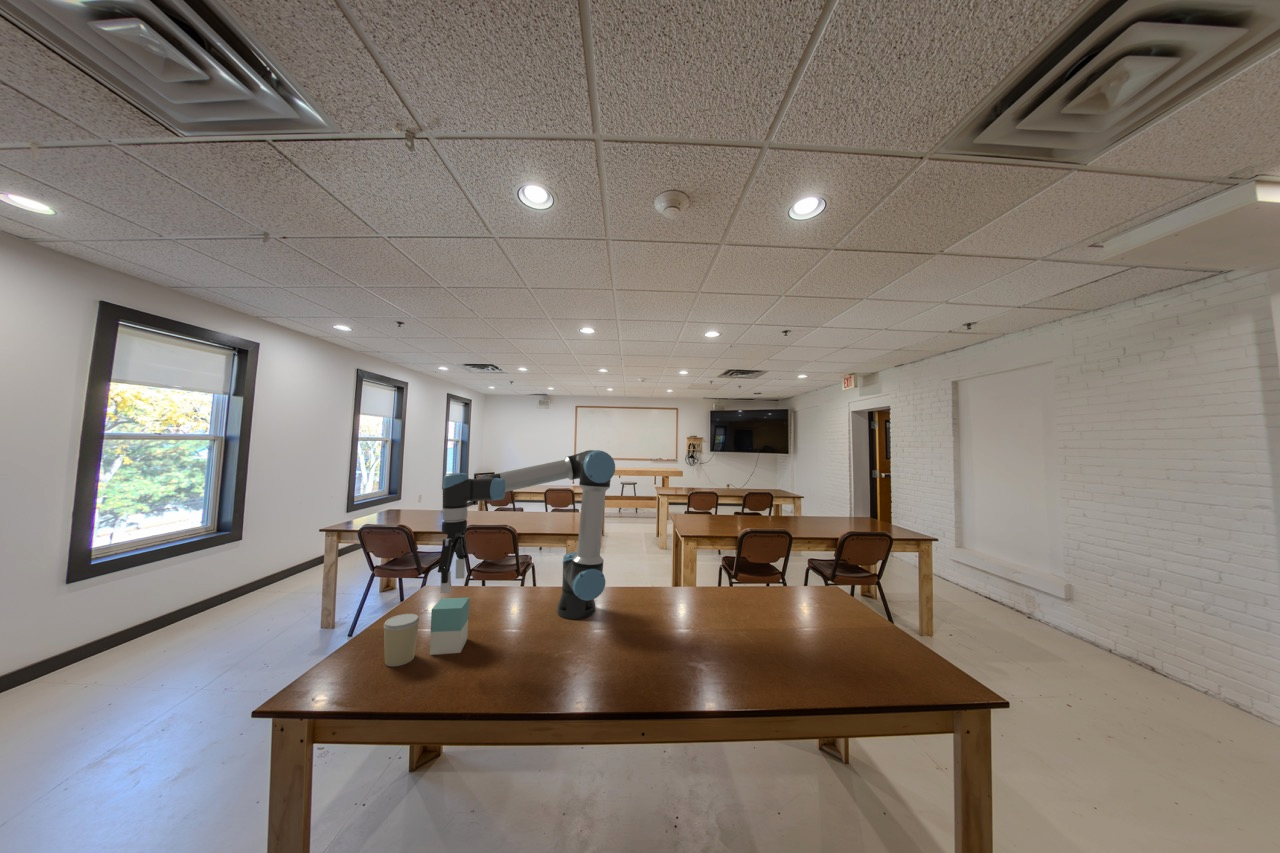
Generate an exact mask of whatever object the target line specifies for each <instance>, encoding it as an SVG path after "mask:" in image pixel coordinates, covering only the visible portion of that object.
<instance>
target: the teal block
mask: <svg viewBox="0 0 1280 853" xmlns="http://www.w3.org/2000/svg"><path fill="white" fill-rule="evenodd" d="M430 617H431V618H430V619H431V620H430V633H431V632H442V631H461V630H462V628H463V626H464V625H465V623H466V622H467V620H468V621H469V619H470V618H469V617H470V597H448V598H447V597H446V598H445V597H444V598H440V599H439V601H438V602H437V603H436V604H435V605H434V606H433V607H432V608H431V616H430Z"/></svg>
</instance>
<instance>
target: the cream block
mask: <svg viewBox="0 0 1280 853" xmlns="http://www.w3.org/2000/svg"><path fill="white" fill-rule="evenodd" d="M468 625H469V619H468V620H467V622H466V623H465V625H464V626H463V628H462V630H461V631H442V632H431V631H430V641H429V642H430V643H429V655H430V656H432V655H433V656H434V655H449V654H459V653H461V652H462V651H463V649H464V646H465V644H466V642H467V640H468V631H469V629H468V627H469V626H468Z"/></svg>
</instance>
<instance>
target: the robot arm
mask: <svg viewBox="0 0 1280 853" xmlns="http://www.w3.org/2000/svg"><path fill="white" fill-rule="evenodd" d="M615 472H616V463H615V461H614V458H613V457H612V455H610V454H609V453H607V452H606V451H603V450H599V449H595V450H594V449H593V450H591V449H589V450H584V451H582V452H579V453H576V454H572V455H567V456H565V458H564V459H561V460H556V461H551V462H545V463H542V464H537V465H532V466H528V467H523V468H522V467H521V468H517V469H513V470H508V471H503V472H499V473H495V474H494V473H493V474H485V475H482V476H480V477H479V478H469V475H468V473H465V472H453V473H446V474H445V475H444V476H443V481H442V482H443V483H442V510H440V514H442V519H441V520H443V521H442V522H441V533H442V534H445V535H447V536H446V538H443V540H442V544H441V546H442V548H441V552H440V557H439V563H438V569H437V573H440V594H450V593H451V586H452V584H451V579H452V575H451V574H452V570H451V566H452V563H453V558H454V555H456V559H455V579H457V580H458V579H461V580H462V579H465V567H466V565H465V564H466V559H468V557H469V555H468V549H467V542H466V536H465V534H466V531H467V529H468V520H467V518H468V502H479V501H481V502H482V501H485V502H487V501H488V502H489V501H493V502H494V501H502V500H504V499H505V497H506V493H507V492H511V491H516V490H520V489H524V488H525V489H526V488H529V487H533V486H539V485H543V484H549V483H553V482H557V481H561V480H565V479H566V480H567V479H568V480H570V481H573V480H577V479H579V482H578V483H579V484H578V486H579V487H580V488H581V490H582V493H581V494H582V497H581V504H580V505H581V506H580V515H579V516H580V517H579V526H578V527H579V529H578V538H577V540H578V541H577V548H576V549H577V551H575V552H568V553H566V554H564V555H563V560H562V591H561V595H560V597H559V599H558V600H559V601H558V604H557V607H556V611H557V612H556V614H557V615H558V616H559V617H561V618H564V619H569V620H579V619H585V618H588V616H589V617H590V615H591V616H592V614H593V613H594V612H596V602H595V599H597V598H598V597H599V596H600V595H601V594H603V592H604V590H605V588H606V577H605V575H604V573H603V571H604V558H603V557H602V556H601V548H602V536H603V535H602V534H603V524H604V511H605V500H606V492H607V491H608V489H610V488H611V481H612V480H611V479H612V478H613V476H614V475H615ZM594 614H595V613H594ZM594 614H593V615H594Z"/></svg>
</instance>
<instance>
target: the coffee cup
mask: <svg viewBox="0 0 1280 853" xmlns="http://www.w3.org/2000/svg"><path fill="white" fill-rule="evenodd" d="M419 622H420V617H419V616H418V615H417V614H415V613H402V614H397V615H394V616H391V617H389V618H388V619H386V620H385V622H384V623H383V632H384V633H383V636H384V637H383V641H384V643H383V644H384V648H383V649H384V663H385V666H388V667H399V666H403V665H406V664H408V663H410V662H412V661H413V660H414V658H415V653H416V649H417V648H416V647H417V638H418V629H419Z"/></svg>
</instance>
